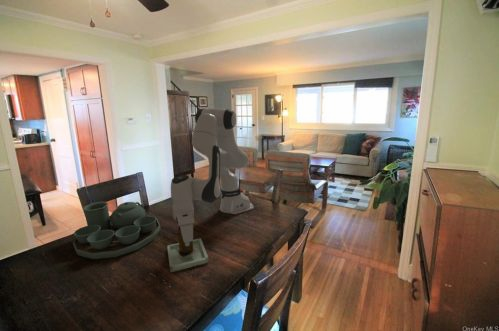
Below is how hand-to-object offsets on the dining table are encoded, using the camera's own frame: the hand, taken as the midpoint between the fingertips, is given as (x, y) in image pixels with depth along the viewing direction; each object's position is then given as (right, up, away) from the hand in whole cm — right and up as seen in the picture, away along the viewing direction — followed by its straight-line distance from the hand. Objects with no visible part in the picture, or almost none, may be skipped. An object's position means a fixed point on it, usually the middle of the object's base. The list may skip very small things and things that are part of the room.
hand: (186, 240), depth 106 cm
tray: (0, -7, +2) cm, 7 cm away
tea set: (-40, -4, +19) cm, 44 cm away
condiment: (0, -5, 0) cm, 5 cm away
